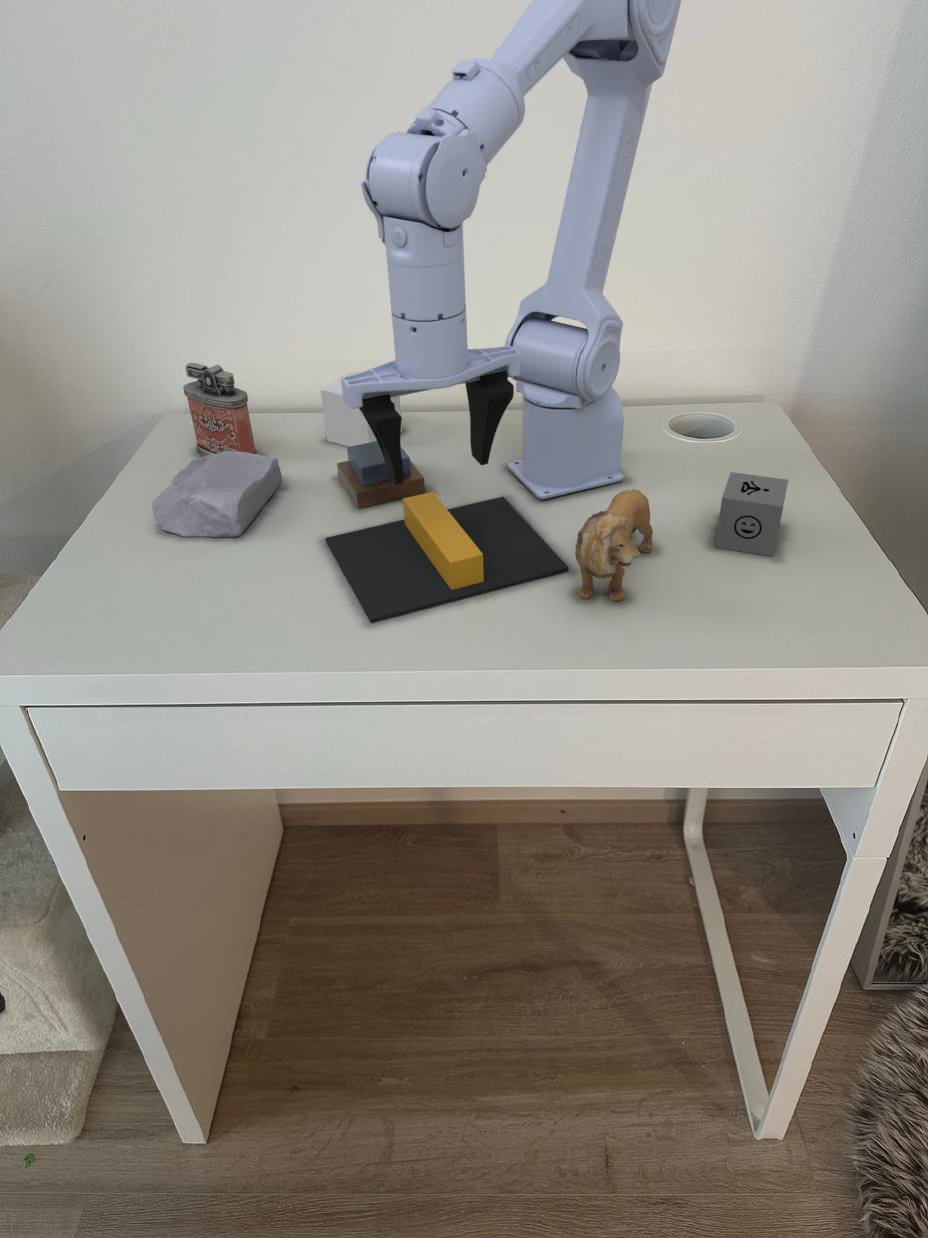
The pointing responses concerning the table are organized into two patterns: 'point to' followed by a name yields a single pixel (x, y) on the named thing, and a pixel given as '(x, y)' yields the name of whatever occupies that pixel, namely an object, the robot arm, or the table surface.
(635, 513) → the lion figurine
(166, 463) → the table surface
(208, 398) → the lighter
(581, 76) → the robot arm
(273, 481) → the stone block
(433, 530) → the bar
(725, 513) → the dice cube
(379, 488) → the brown blue stepped block
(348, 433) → the white cube
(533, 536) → the mat
